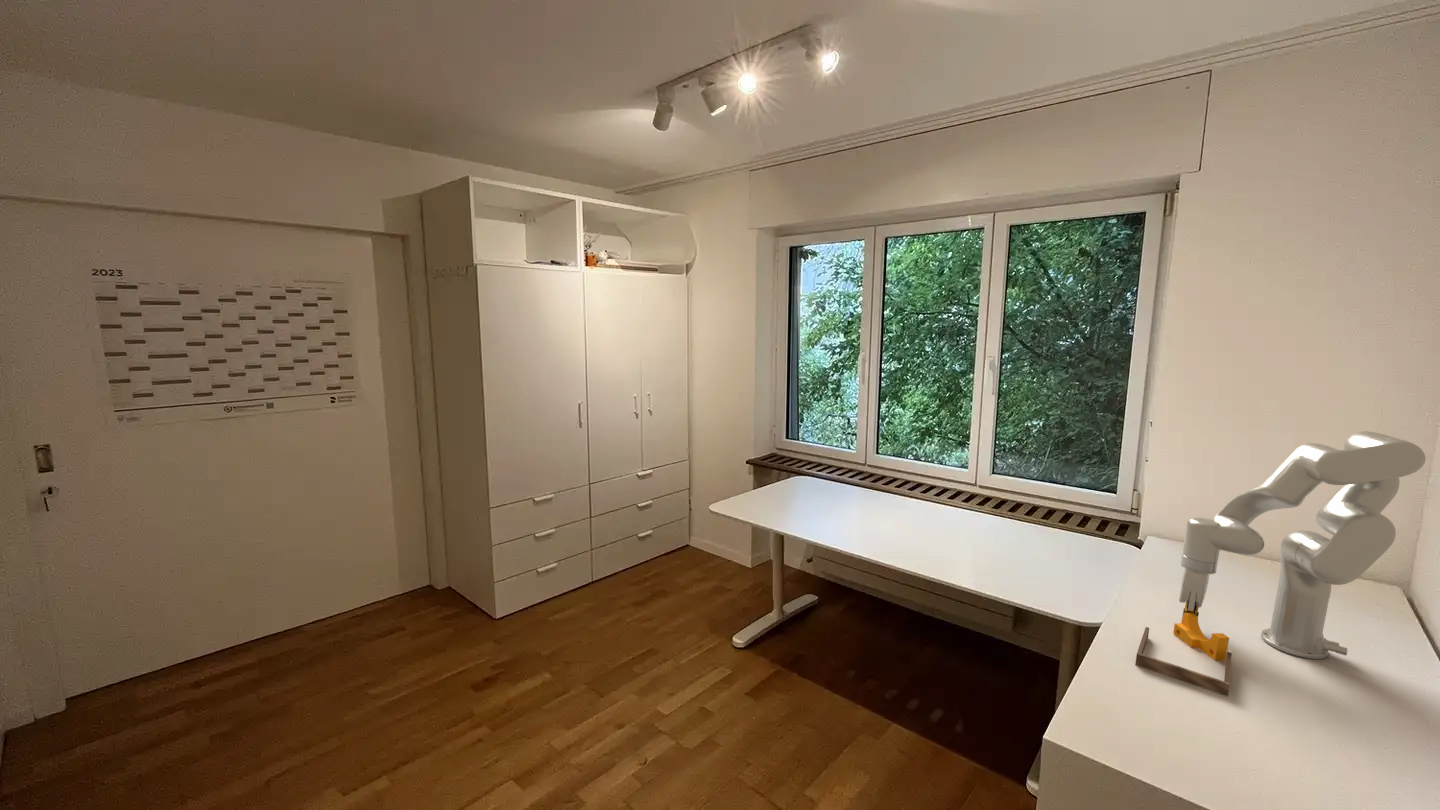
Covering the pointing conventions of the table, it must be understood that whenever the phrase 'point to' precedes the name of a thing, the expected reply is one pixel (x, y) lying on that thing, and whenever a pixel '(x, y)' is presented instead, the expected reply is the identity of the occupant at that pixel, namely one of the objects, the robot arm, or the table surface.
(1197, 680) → the walnut bay
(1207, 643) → the pipe clamp
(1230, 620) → the table surface
